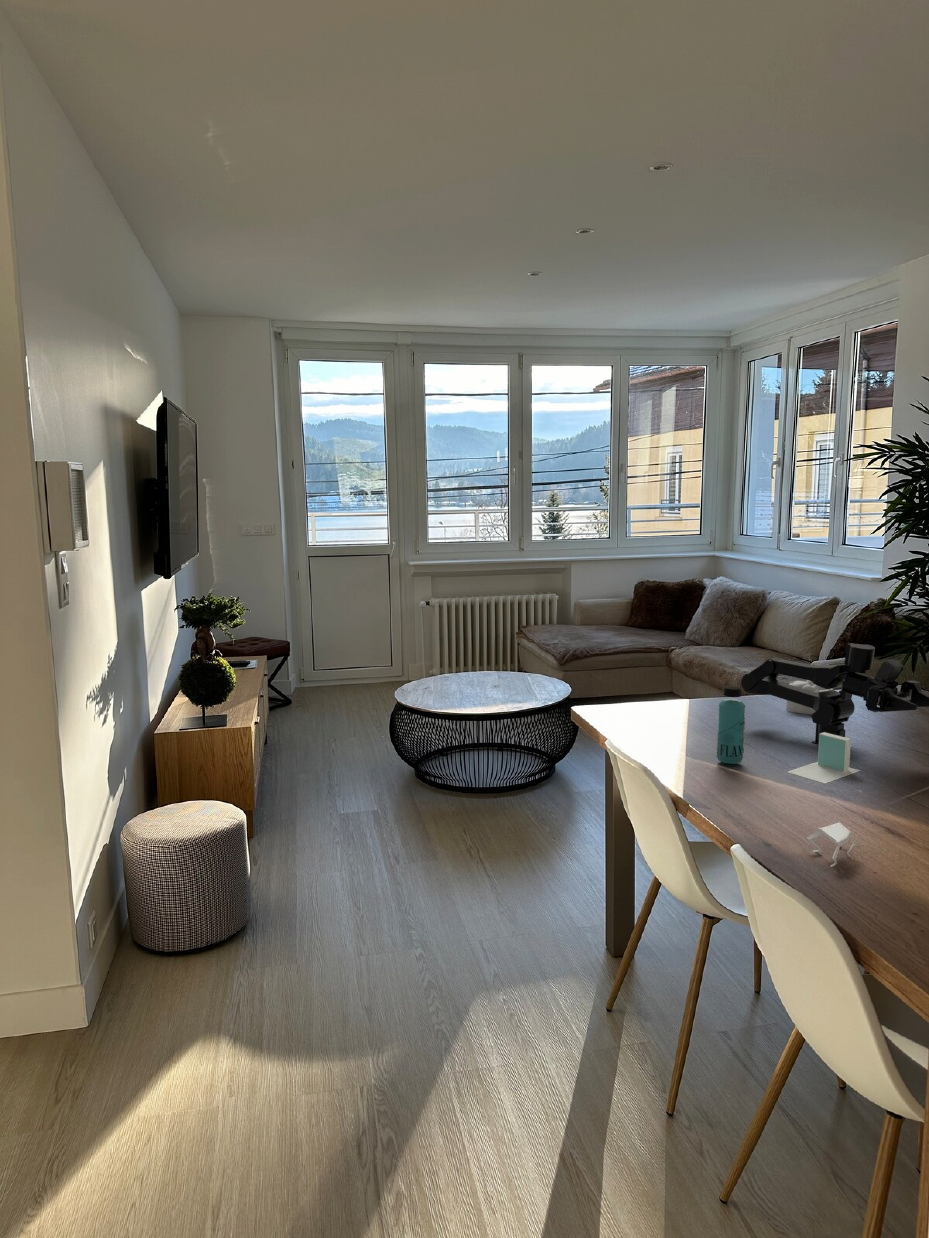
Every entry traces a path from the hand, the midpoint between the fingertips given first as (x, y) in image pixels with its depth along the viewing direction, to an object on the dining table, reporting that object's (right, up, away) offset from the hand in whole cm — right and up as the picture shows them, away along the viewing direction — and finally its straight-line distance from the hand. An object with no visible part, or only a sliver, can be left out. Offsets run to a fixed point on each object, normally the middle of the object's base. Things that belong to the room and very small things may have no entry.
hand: (927, 705), depth 202 cm
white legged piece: (-42, -24, -44) cm, 66 cm away
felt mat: (-24, -16, +2) cm, 29 cm away
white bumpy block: (-4, -8, +59) cm, 60 cm away
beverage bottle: (-45, -16, +8) cm, 48 cm away
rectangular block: (-21, -16, +4) cm, 26 cm away
